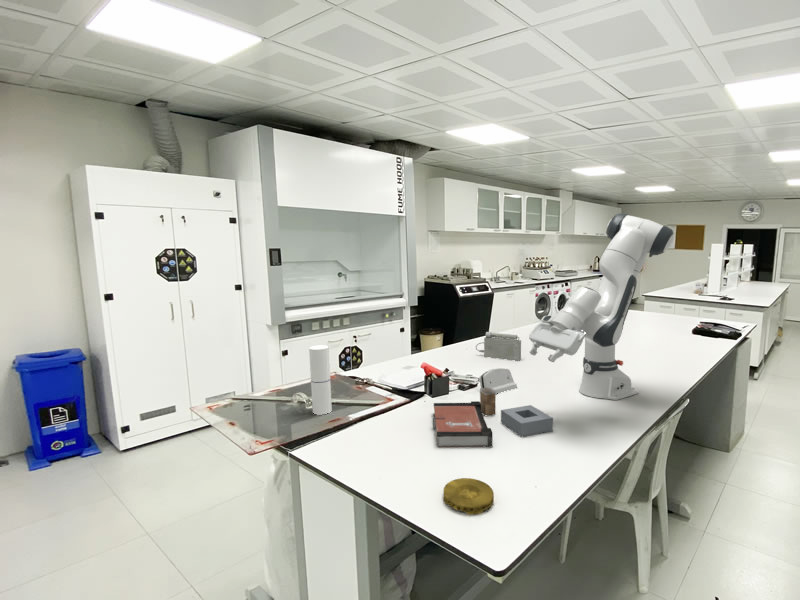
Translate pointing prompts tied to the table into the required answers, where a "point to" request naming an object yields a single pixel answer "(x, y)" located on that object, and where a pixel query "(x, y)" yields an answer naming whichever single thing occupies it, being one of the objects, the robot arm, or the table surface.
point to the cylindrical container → (320, 379)
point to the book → (461, 425)
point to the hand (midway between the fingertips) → (540, 357)
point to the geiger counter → (501, 346)
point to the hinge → (498, 380)
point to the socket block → (526, 420)
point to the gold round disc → (468, 495)
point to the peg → (487, 400)
